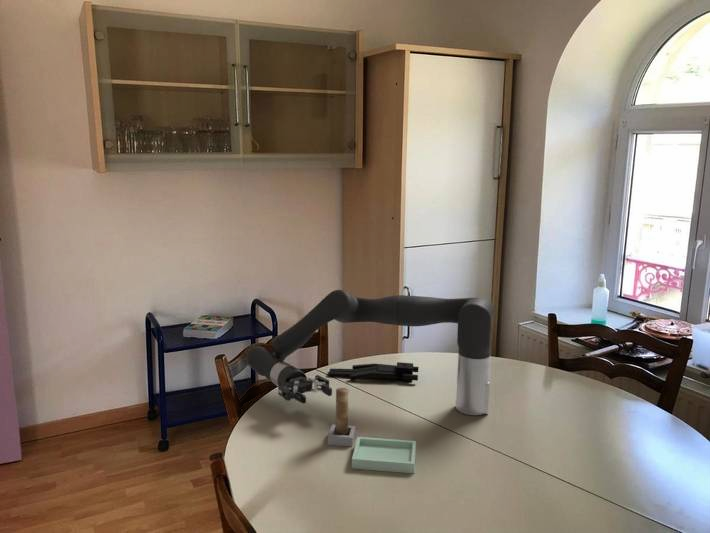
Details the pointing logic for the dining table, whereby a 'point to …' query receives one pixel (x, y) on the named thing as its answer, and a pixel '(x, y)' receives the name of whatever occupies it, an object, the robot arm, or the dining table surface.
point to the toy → (378, 372)
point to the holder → (342, 437)
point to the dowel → (342, 411)
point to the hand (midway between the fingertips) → (318, 396)
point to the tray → (384, 455)
